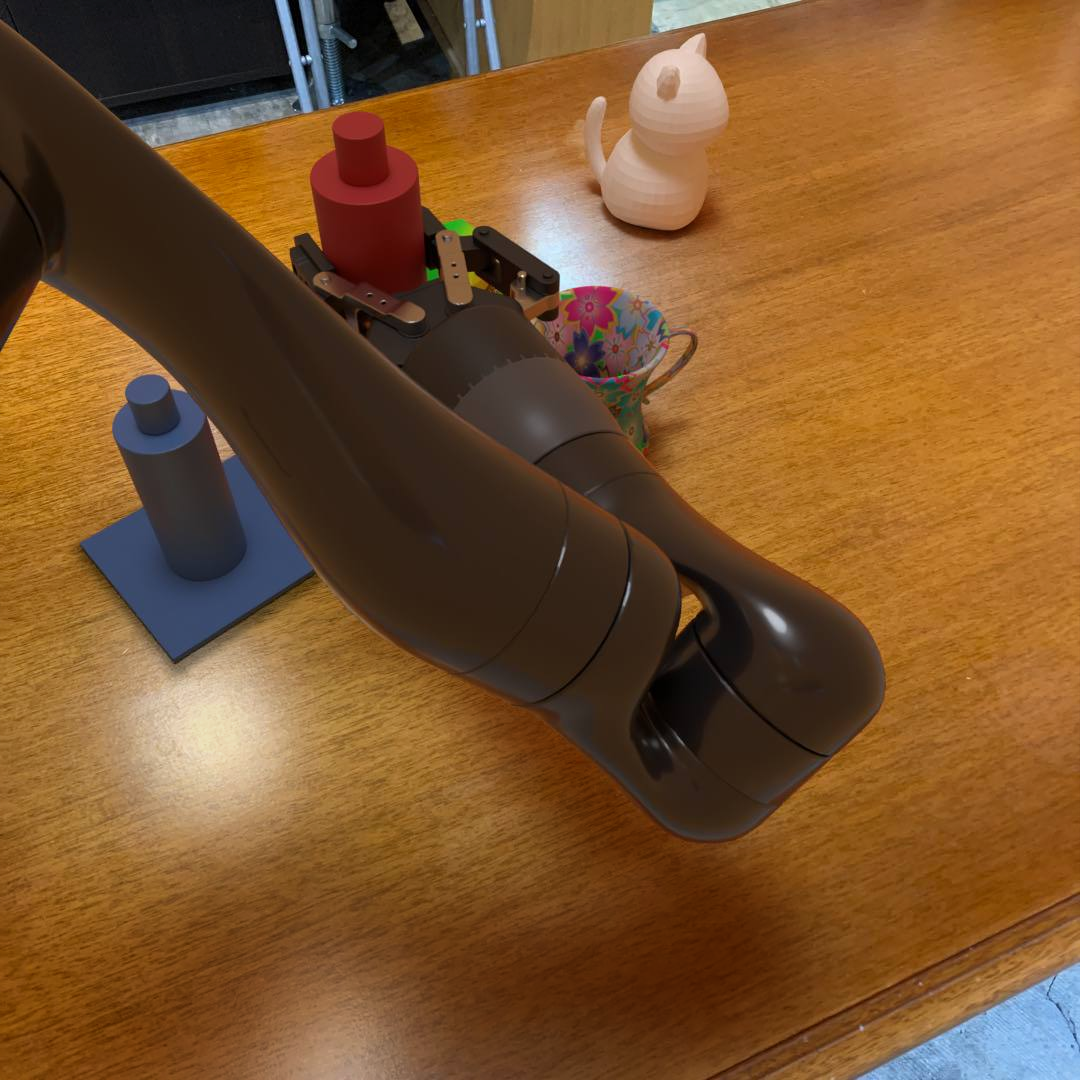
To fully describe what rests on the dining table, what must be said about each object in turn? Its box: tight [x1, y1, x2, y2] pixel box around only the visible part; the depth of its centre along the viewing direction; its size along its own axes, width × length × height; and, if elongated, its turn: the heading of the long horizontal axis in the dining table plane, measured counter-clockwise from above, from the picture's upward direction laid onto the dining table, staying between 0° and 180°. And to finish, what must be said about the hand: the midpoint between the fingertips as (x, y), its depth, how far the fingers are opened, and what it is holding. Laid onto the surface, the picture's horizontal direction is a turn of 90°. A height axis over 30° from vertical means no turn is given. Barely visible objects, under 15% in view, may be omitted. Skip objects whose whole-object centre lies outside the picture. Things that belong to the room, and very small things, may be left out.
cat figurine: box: [583, 32, 730, 231], centre depth 90 cm, size 9×12×15 cm
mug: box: [530, 285, 699, 457], centre depth 74 cm, size 12×9×11 cm
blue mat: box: [79, 454, 316, 664], centre depth 71 cm, size 12×12×1 cm
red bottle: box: [309, 111, 428, 295], centre depth 56 cm, size 5×5×14 cm
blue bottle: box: [111, 373, 247, 581], centre depth 65 cm, size 5×5×14 cm
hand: (353, 232), depth 57 cm, fingers closed on red bottle, 5 cm apart
